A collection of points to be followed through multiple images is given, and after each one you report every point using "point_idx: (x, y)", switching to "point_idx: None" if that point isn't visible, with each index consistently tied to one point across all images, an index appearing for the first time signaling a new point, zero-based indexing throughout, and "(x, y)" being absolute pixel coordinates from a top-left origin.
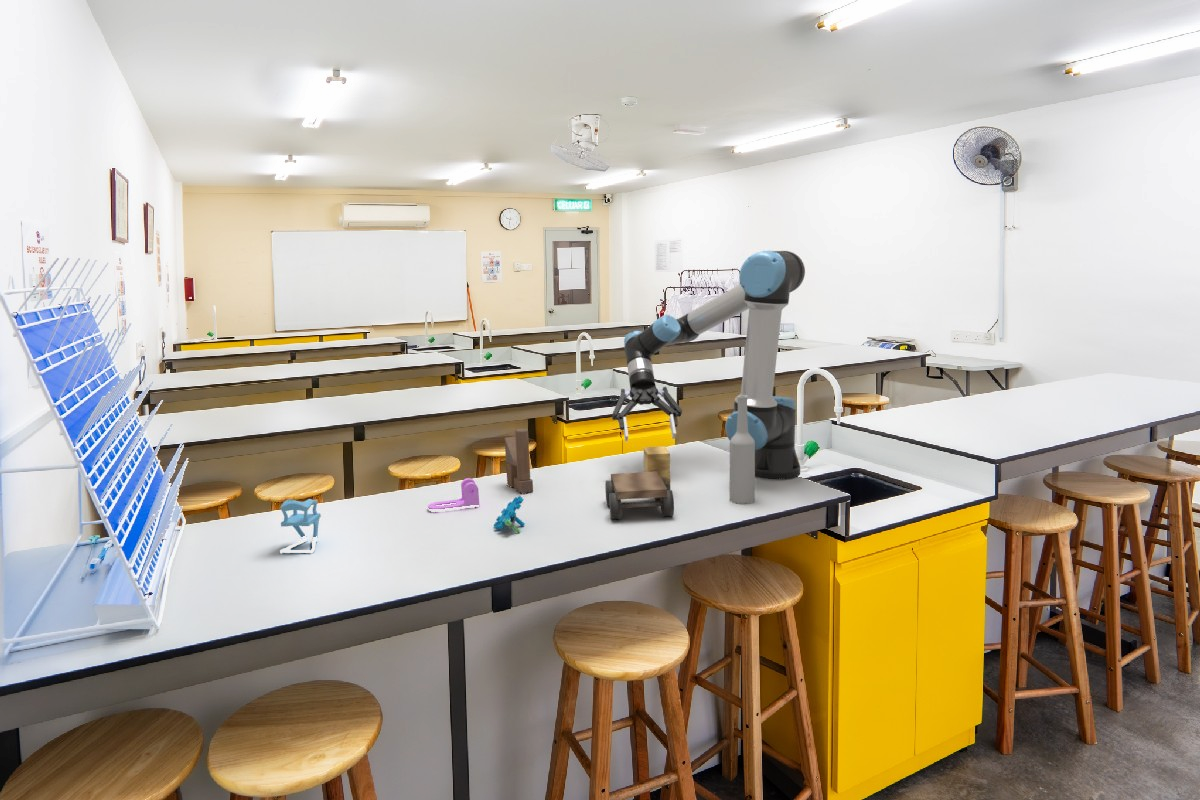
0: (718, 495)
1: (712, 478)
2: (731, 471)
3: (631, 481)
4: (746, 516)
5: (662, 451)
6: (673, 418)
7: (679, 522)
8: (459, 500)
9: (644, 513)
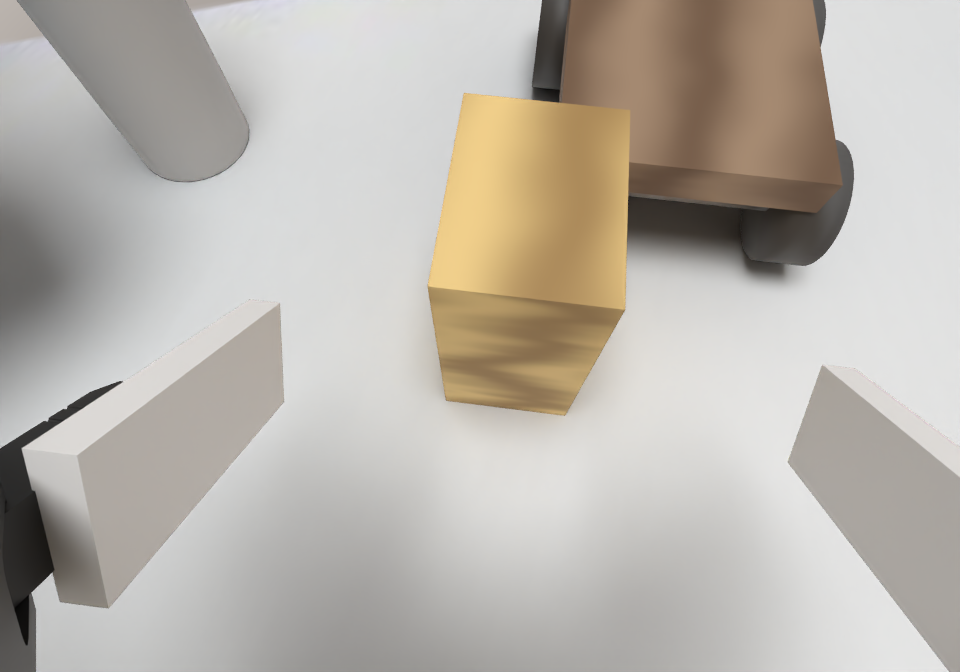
0: (252, 215)
1: None
2: (184, 9)
3: (727, 45)
4: (286, 6)
5: (500, 149)
6: (102, 397)
7: (528, 16)
8: None
9: None
